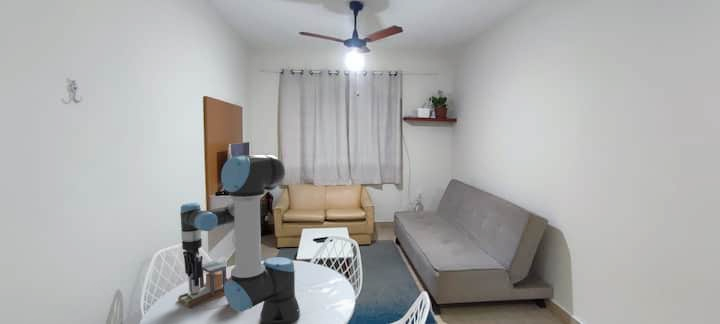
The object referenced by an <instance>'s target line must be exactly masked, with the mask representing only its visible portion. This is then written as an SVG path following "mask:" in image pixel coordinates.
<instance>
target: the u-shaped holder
mask: <svg viewBox="0 0 720 324" xmlns="http://www.w3.org/2000/svg"><path fill="white" fill-rule="evenodd" d="M191 278H193V274H190V282H191V291H190V292H189V291H188V292H189V293H188V292H187V293H188V296H189V297H191V298H193V299H195V298H198V297H200V296H203V295H205V294H208V293H210V273H208V272H207V273H206V274H205V286H206V287H203V288H200V287H199V288H200V292H197V293H194V294H193V293H192V280H191ZM220 288H223V284H222V273H220V272H216V273H214V291H215V290H218V289H220Z"/></svg>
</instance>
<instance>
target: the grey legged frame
mask: <svg viewBox="0 0 720 324" xmlns="http://www.w3.org/2000/svg"><path fill="white" fill-rule="evenodd" d="M221 270H222V279H223V280H222V284H223V288H220V289H218V290H215V291H214V273H216V272H218V271H221ZM204 271H205V272H206V273H207V274H208V273H210V293H208V294H205V295H203V296H200V297H198V298H195V299H193V298H191V297H189V296H188V293H189V291H188V292H186V293H183V294H181V295H179V296H178V297H177V299H178V300H177V301H179V302H180V303H182V304H183V305H184V306H185V307H187V308H189V309H192V308H194V307H197V306H199V305H202V304H204V303H207V302H209V301H211V300H213V299H214V300H215V299H216V298H218V297H221V296H225V293H224V285H225V283H226V282H227V280H228V279H229V278H227V269H226V266H224V265H222V264H220V263H218V262H215V261H212V262H210V261H209V262H205V263H202V277H200V278H199V288H203V287H206V285H204V283H205V281H204V277H205V276H204Z"/></svg>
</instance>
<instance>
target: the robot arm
mask: <svg viewBox="0 0 720 324" xmlns="http://www.w3.org/2000/svg"><path fill="white" fill-rule="evenodd" d="M285 174H286V170H285V166H284V164H283V162H282V161H281V160H280V159H279V158H278V157H277V156H274V155H271V154H258V155H256V154H255V155H239V156H233V157H230V158H229V159H227V160H226V162H225V163H224V164H223V167H222V168H221V176H220V178H221V179H220V180H221V184H222V187H223V189H224V190H225V191H226V192H228V196H229V197H230V198H231V199H232V200H231V201H230V202H229V204H227V205H226V206H224V207H218V208H212V209H206V210H202V208H201V205H200V203H198V202H191V203H184V204H182V205H181V206H180V213H179V215H180V227H181V228H180V229H181V231H180V232H181V233H180V234H181V240H182V241H181V248H182V249H181V250H184V251H183V252H182V255H183V261H184V271H185V274H186V276H187V278H188V279H187V281H188V292H191V282H190V274H193V278H191V280H192V293H193V294H194V293H197V292H200V277H202V264H203V255H200V252H199V250H200V248H202V246H203V245H202V240H203V239H202V238H201V237H202V232H210V231H213V230H214V229H215V228H217V227H221V226H224V225H228V224H232V223H233V224H234V253H235V255H234V256H235V258H234V259H235V260H234V261H235V264H234V265H235V266H234V267H233V268H232V269H231V271H230V277H231V279H230V280H228V281H227V282H226V283H225V285H224V293H225V294H224V296H225V299H226V301H227V303H228V304H229V306H230V308H232V309H233V310H234V311H236V312H238V313H241V312H244V311H247V310H251V309H252V308H254V307H256V306H257V305H260V304H261V303H263V304H262V309H261V310H260V322H261V324H293V323H296V321H297V320H298V319H299V318H300V315H301V314H300V313H301V311H300V306H299V305H300V304H299V303H298V300H297V298H296V297H297V296H296V294H295V292H296V291H295V290H296V289H295V278H296V277H295V276H296V275H295V272H296V270H295V264H294V262H293V260H292V259H290V258H288V257H280V256H279V257H277V256H276V257H275V256H274V257H270V258H266V259H265V260H263V263H262V248H261V246H262V245H261V244H262V243H261V242H262V241H261V239H262V238H261V236H262V235H261V233H262V232H261V199H262V197H264V196H265V195H266V194H267V193H268V192H269V191H273V190H276V189H277V187H278V186H280V184H281V183H282V182H283V180H284V178H285Z"/></svg>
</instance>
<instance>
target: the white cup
mask: <svg viewBox="0 0 720 324" xmlns="http://www.w3.org/2000/svg"><path fill="white" fill-rule="evenodd" d="M212 261H215V262H218V263H220V264H222V265H224V266H226V270H227V263H228V262H227V257H225V256H217V257H214V258H211V259H210V260H209V262H212ZM218 272H220V273H222V270H221V271H218ZM222 280H223V279H222Z"/></svg>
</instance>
